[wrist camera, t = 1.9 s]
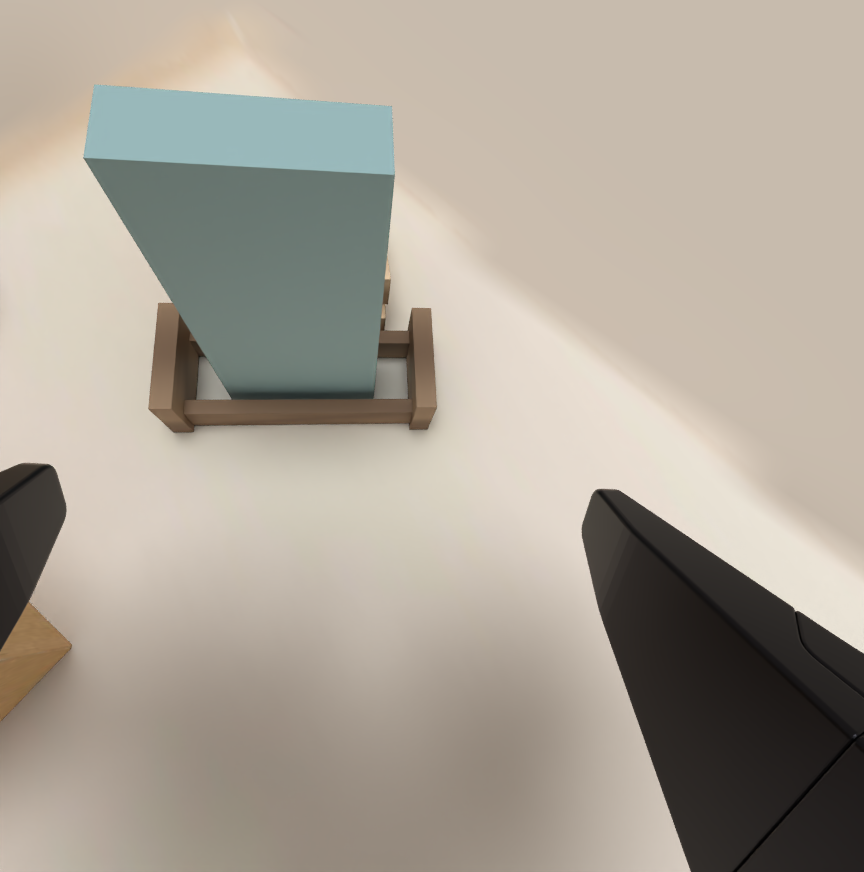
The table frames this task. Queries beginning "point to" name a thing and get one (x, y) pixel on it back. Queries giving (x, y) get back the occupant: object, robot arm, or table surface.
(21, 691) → the sandwich container
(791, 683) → the robot arm
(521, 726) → the table surface
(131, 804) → the table surface
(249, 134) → the teal rectangular block
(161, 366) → the rack
